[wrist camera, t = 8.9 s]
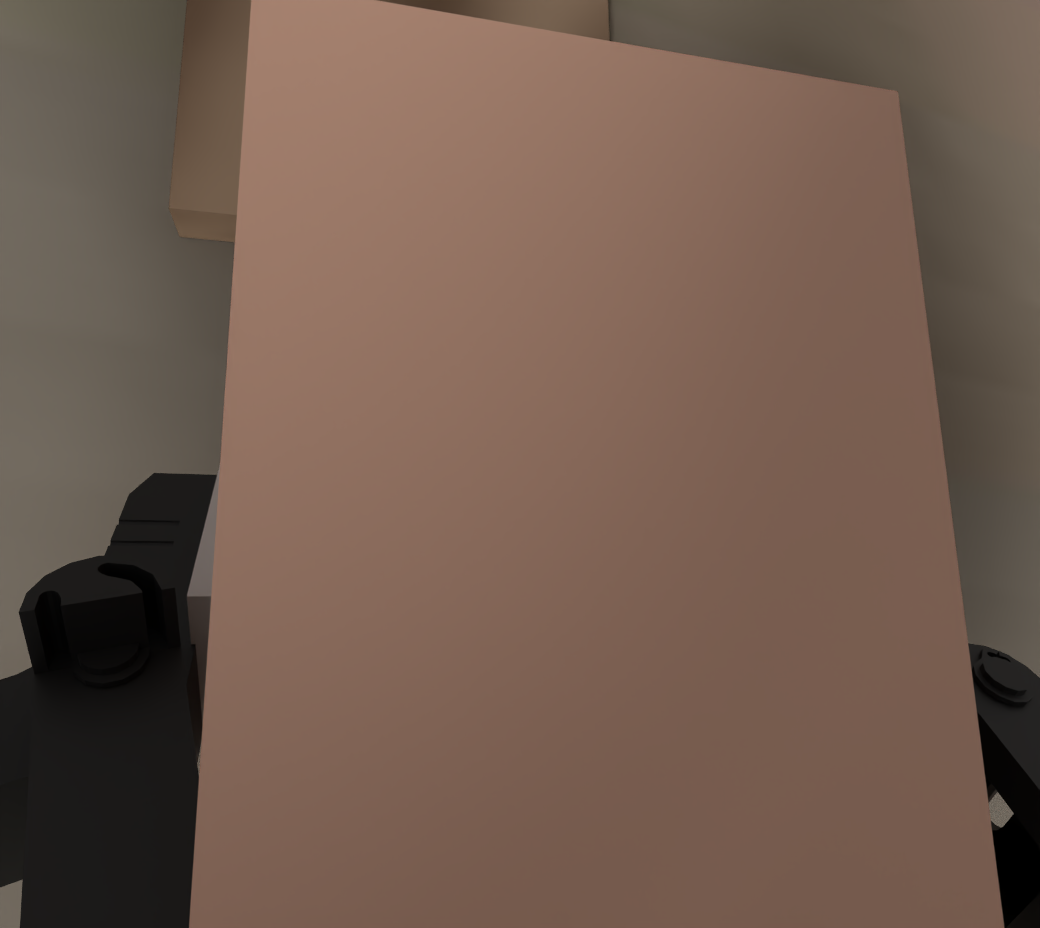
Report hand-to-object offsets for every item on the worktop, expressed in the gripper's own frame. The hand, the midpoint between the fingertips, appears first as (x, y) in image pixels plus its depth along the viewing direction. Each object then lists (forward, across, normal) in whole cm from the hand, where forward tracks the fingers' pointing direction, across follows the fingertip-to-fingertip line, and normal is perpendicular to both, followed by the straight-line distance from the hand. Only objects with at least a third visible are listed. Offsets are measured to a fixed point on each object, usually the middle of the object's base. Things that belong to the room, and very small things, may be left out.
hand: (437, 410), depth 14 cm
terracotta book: (+1, 0, -6) cm, 6 cm away
